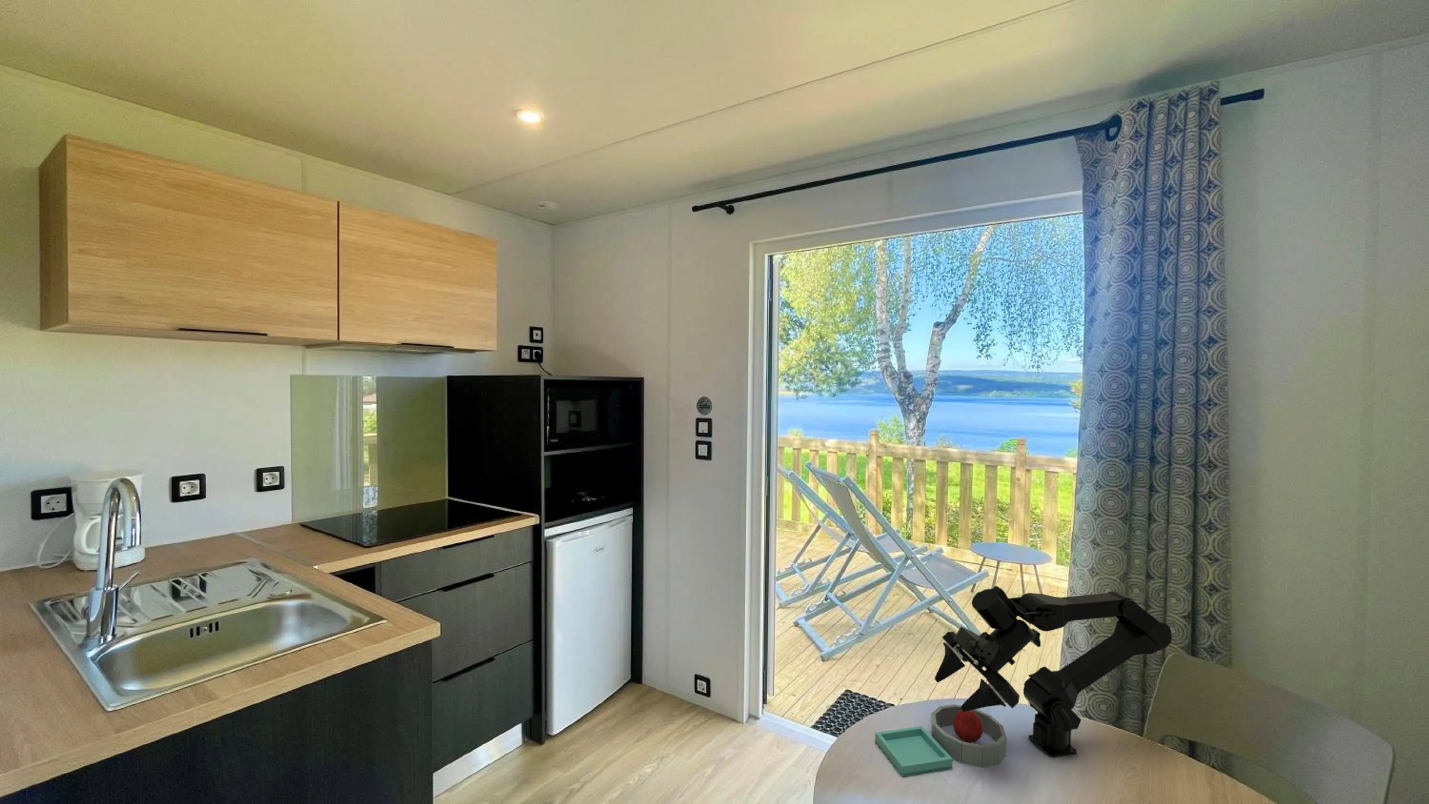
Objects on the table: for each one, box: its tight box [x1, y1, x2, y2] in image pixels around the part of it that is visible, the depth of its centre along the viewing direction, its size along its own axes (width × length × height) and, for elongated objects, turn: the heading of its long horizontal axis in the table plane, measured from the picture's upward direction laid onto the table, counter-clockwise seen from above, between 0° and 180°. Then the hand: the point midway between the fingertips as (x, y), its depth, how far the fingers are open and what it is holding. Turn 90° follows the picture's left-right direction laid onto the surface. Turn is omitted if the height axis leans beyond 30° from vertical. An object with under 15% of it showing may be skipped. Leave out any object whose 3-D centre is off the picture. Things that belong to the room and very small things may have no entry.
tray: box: [874, 725, 954, 778], centre depth 116 cm, size 11×11×2 cm
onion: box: [952, 710, 984, 744], centre depth 119 cm, size 6×6×8 cm
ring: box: [930, 704, 1008, 768], centre depth 119 cm, size 14×14×4 cm
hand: (948, 694), depth 116 cm, fingers open, 9 cm apart
